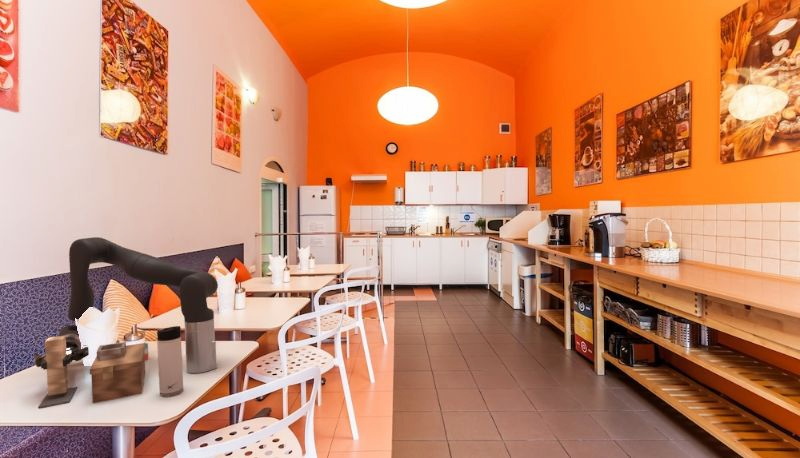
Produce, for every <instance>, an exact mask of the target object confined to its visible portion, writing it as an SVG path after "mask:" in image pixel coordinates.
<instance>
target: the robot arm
mask: <svg viewBox="0 0 800 458" xmlns="http://www.w3.org/2000/svg"><path fill="white" fill-rule="evenodd" d="M68 258H69V259H68V261H69V263H68V264H69V275H70V298H69V307H68V312H67V313H68V314H67V318H68V319H69V320H70V321H73V322H76V321H75V318H76V319H79V318H80V317H81V316H82V314H83V313H84V312H85V311H86V310H87V309H88V308H89V307H93V308H94V306H95V292H94V290H93V287H92V286H91V283H90V279H89V270H90V266H91V264H92V265H93V264H97V263H105V264H109V265H113V266H116V267H118V268H119V269H121V270H122V271H123V273H124V274H125V275H126V276H127V277H129V278H131V279H135V280H137V281H140V282H143V283H147V284H152V285H160V286H171V287H178V288H179V301H180V310H181V311H180V312H181V314H182V315H183V319H184V320H183V321H184V337H185V338H184V339H185V359H186V360H185V361H186V364H185V365H186V372H187V373H189V374H200V373H205V372H209V371H212V370H215V369H217V367H218V366H217V365H218V363H217V347H216V345H217V343H216V336H215V334H216V333H215V332H216V331H215V315H214V314H215V313H214V312H215V311H214V310H213V309H212V308H209V307H208V300H207V299H208V298H209V297H211V296H213V295H214V294H215V293H216V292H217V290H218V287H219V283H218V281H217V279H216V277H215V276H214V275H213V274H211V273H209V272H206V271H203V270H202V271H201V270H196V269H192V268H188V267H184V266H181V265H178V264H175V263H173V262H171V261H168V260H166V259H165V260H164V259H161V258H159V257H156V256H154V255H153V256H152V255H150V254H148V253H143V252H140V251H136V250H133V249H131V248H127V247H124V246H121V245H119V244H117V243H115V242H112V241H111V240H108V239H106V238H103V237H97V236H96V237H87V238H86V237H85V238H80V239H79V238H78V239H76V240H73V242H72V243H71V245H70V247H69V251H68ZM76 325H77V324H76ZM76 325H75V324H73V325H71V324H70V325H69V324H68V325H65V326H63V327H62V328H61V329H60V330H59V333H58V336H66V353H67V356H65V358H64V359H63V367H64V366H67V367H68V365H70V364H71V363H73V361H74V362H79V361H82V359H84V358H87V357H88V356H89V353H90V351H89V347H88V346H85V347H82V349H81V342H80V339H79V334H78V331H77V326H76ZM33 361H34V362H33V363H34V365H35V366H36V367H37V368H41V369H43V370H47V361H46V353H45V354H43V355H42V354H39V353H35V354H34V355H33Z"/></svg>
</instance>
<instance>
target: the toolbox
mask: <svg viewBox="0 0 800 458" xmlns="http://www.w3.org/2000/svg"><path fill="white" fill-rule="evenodd" d="M145 343H146V342H142V343H135V344H130V345H129V344H128V345H127V342H126V341H124V342H123V341H122V342H116V343H110V344H101V345H99V347H98V349H97V351H96V357H95V359H94V361H93V362H92V364H91V366H90V368H89V375H91V393H92V394H91V395H92V404H96V403H100V402H101V403H102V402H106V401H110V400H111V401H112V400H116V399H122V398H127V397H132V396H137V395H142V394H143V389H144V384H145V378H146V377H145V376H146V361H145V353H144V351H145Z"/></svg>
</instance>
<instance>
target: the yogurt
mask: <svg viewBox="0 0 800 458" xmlns="http://www.w3.org/2000/svg"><path fill="white" fill-rule="evenodd" d="M144 343H145V351H144V353H145V360H146V361H147V360H149V343H148V342H144Z"/></svg>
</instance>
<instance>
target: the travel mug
mask: <svg viewBox="0 0 800 458" xmlns="http://www.w3.org/2000/svg"><path fill="white" fill-rule="evenodd" d="M181 330H182V329H181V326H179V325H177V326H175V325H174V326H169V327H165V328H163V329H162V330H161V329H160V330H157V331H156V336H157V343H156V344H157V363H158V382H159V383H158V384H159V396H161V397H164V398H165V397H169V398H170V397H174V396H176V395H179V394H181V393H182V392H183V391H184V379H183V378H184V374H183V372H184V371H183V353H182V351H183V350H182V335H181Z"/></svg>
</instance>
